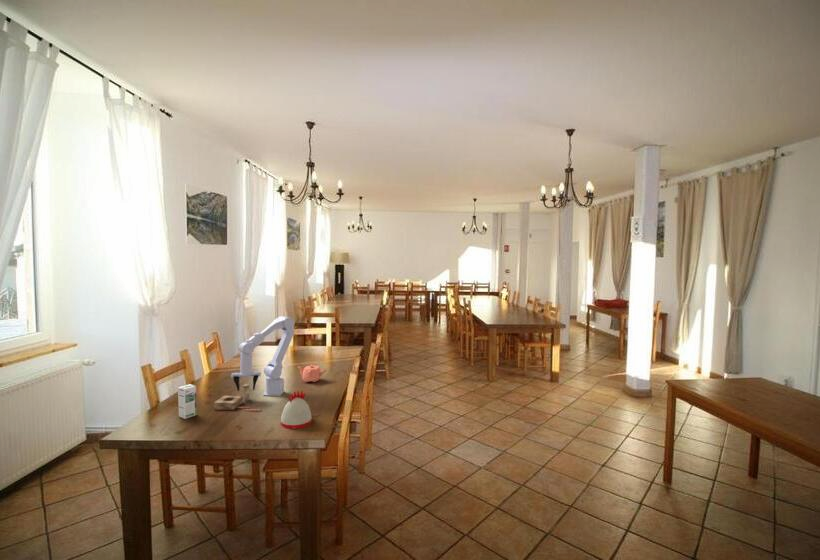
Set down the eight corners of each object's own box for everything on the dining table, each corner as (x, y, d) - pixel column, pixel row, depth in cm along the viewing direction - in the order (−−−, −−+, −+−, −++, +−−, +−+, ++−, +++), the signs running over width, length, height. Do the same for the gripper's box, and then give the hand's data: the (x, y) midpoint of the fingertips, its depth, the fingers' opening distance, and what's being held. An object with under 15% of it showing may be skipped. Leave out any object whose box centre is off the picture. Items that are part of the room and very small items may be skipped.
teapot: (317, 376, 252) (317, 361, 251) (326, 381, 243) (326, 365, 242) (296, 381, 243) (296, 365, 242) (305, 385, 234) (305, 369, 233)
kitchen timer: (315, 424, 179) (315, 392, 179) (285, 431, 172) (285, 398, 171) (306, 414, 191) (306, 384, 190) (277, 420, 184) (277, 389, 183)
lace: (264, 408, 197) (264, 407, 197) (261, 411, 194) (261, 410, 193) (234, 407, 198) (234, 406, 198) (231, 410, 194) (231, 409, 194)
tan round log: (250, 399, 210) (250, 384, 210) (247, 401, 207) (247, 386, 207) (244, 398, 210) (244, 384, 210) (242, 400, 207) (242, 386, 207)
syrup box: (184, 419, 183) (184, 388, 182) (178, 416, 186) (177, 386, 185) (196, 415, 188) (196, 385, 187) (190, 412, 191) (189, 383, 190)
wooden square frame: (242, 402, 205) (242, 396, 205) (233, 409, 195) (233, 403, 195) (224, 402, 205) (224, 395, 205) (214, 409, 195) (214, 402, 195)
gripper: (261, 362, 214) (261, 386, 214) (232, 363, 210) (232, 388, 211) (260, 365, 207) (260, 390, 208) (230, 367, 203) (230, 392, 204)
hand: (246, 389), depth 209 cm, fingers open, 7 cm apart
